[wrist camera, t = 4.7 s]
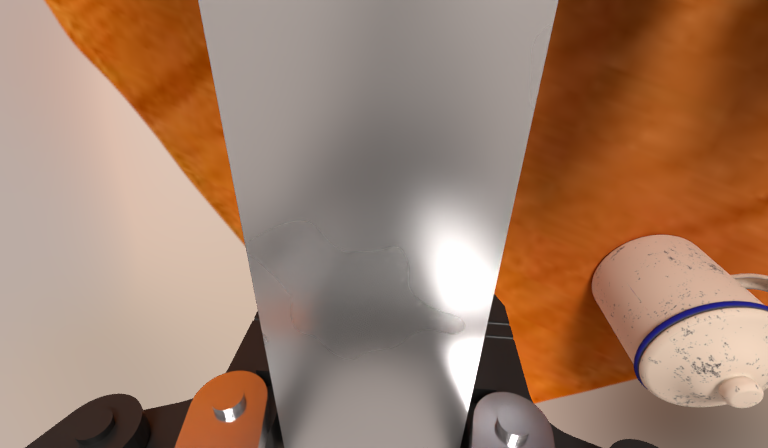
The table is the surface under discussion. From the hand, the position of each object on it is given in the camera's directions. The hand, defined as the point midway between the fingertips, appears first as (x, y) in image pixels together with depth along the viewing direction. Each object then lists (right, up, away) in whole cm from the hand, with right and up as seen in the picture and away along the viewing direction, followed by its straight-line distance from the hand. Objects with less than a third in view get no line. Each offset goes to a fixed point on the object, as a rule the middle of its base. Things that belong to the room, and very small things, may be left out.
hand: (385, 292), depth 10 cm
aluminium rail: (0, -1, -1) cm, 1 cm away
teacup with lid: (+23, -2, +22) cm, 32 cm away
